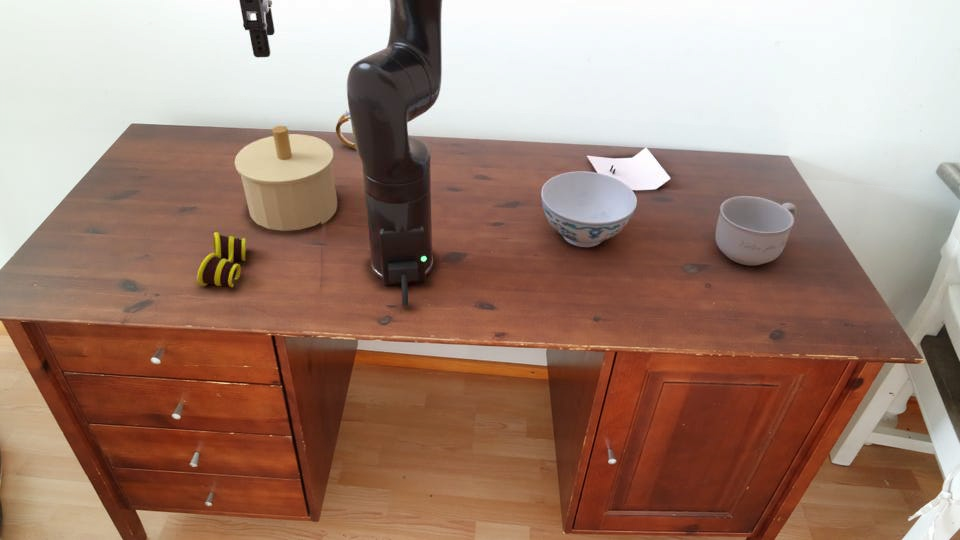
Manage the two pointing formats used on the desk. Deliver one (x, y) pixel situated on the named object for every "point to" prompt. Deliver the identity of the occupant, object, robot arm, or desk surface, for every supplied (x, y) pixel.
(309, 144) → the canister lid
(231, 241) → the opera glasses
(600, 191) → the chinaware
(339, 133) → the ring
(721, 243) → the teacup
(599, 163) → the folded paper
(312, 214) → the canister
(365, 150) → the robot arm
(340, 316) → the desk surface
